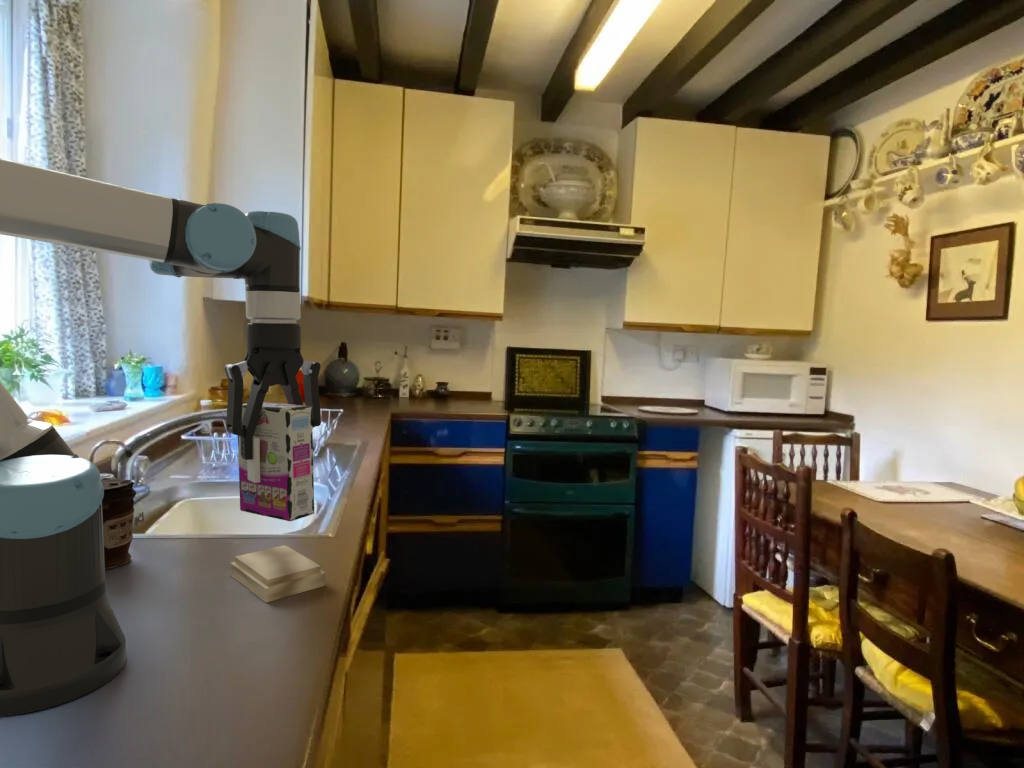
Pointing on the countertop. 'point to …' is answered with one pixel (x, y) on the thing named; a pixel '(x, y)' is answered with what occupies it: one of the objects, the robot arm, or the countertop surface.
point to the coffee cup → (117, 521)
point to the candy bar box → (281, 464)
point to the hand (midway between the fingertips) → (276, 476)
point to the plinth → (277, 573)
